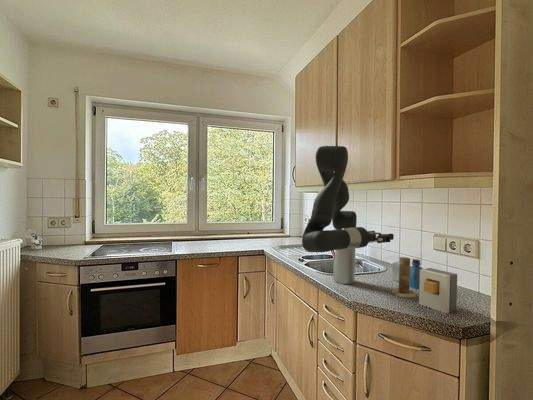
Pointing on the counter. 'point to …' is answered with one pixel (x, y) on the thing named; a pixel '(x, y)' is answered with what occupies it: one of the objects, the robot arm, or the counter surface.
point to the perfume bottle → (415, 274)
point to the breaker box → (447, 290)
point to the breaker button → (431, 286)
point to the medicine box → (395, 271)
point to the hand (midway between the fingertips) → (383, 234)
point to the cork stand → (409, 295)
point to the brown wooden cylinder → (404, 275)
